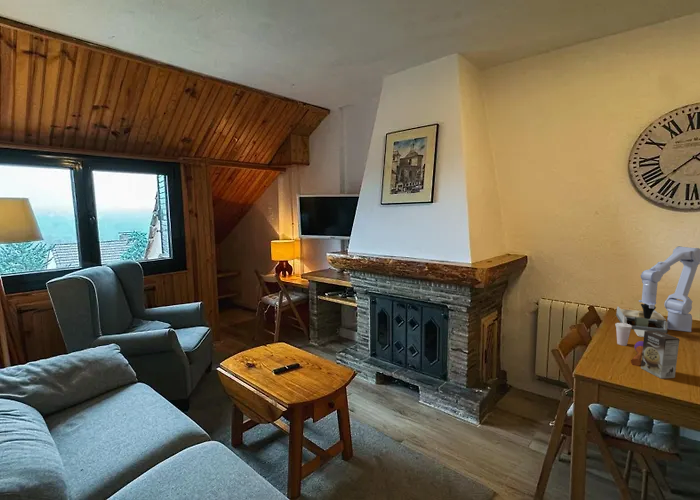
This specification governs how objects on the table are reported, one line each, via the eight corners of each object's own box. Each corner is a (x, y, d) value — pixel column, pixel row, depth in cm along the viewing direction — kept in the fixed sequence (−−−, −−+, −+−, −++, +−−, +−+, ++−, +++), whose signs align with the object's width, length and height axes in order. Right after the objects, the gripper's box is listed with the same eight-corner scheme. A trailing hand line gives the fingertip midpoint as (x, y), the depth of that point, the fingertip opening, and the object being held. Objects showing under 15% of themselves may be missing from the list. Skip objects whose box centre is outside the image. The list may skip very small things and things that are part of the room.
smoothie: (628, 342, 174) (630, 314, 173) (632, 347, 169) (634, 318, 167) (612, 340, 177) (614, 313, 175) (615, 345, 171) (617, 317, 170)
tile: (658, 333, 186) (658, 332, 186) (663, 339, 178) (663, 338, 178) (634, 330, 191) (634, 329, 191) (638, 336, 182) (638, 335, 182)
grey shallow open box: (654, 319, 208) (655, 310, 207) (667, 333, 186) (668, 322, 186) (616, 315, 217) (616, 306, 216) (624, 327, 195) (624, 318, 194)
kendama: (625, 354, 152) (634, 338, 166) (628, 368, 152) (637, 351, 166) (643, 356, 148) (651, 339, 161) (646, 370, 148) (653, 352, 161)
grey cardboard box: (639, 368, 148) (643, 330, 146) (654, 367, 148) (657, 329, 146) (660, 378, 139) (664, 338, 137) (676, 378, 139) (680, 338, 137)
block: (645, 324, 199) (646, 316, 199) (647, 327, 195) (648, 318, 194) (634, 323, 202) (635, 315, 201) (636, 326, 197) (637, 317, 197)
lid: (659, 314, 199) (659, 309, 199) (666, 320, 188) (666, 315, 187) (620, 309, 208) (620, 305, 207) (624, 316, 196) (624, 311, 196)
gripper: (636, 289, 195) (634, 313, 196) (642, 295, 182) (640, 321, 184) (653, 290, 191) (651, 315, 193) (660, 296, 179) (658, 323, 180)
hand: (647, 318), depth 188 cm, fingers closed
